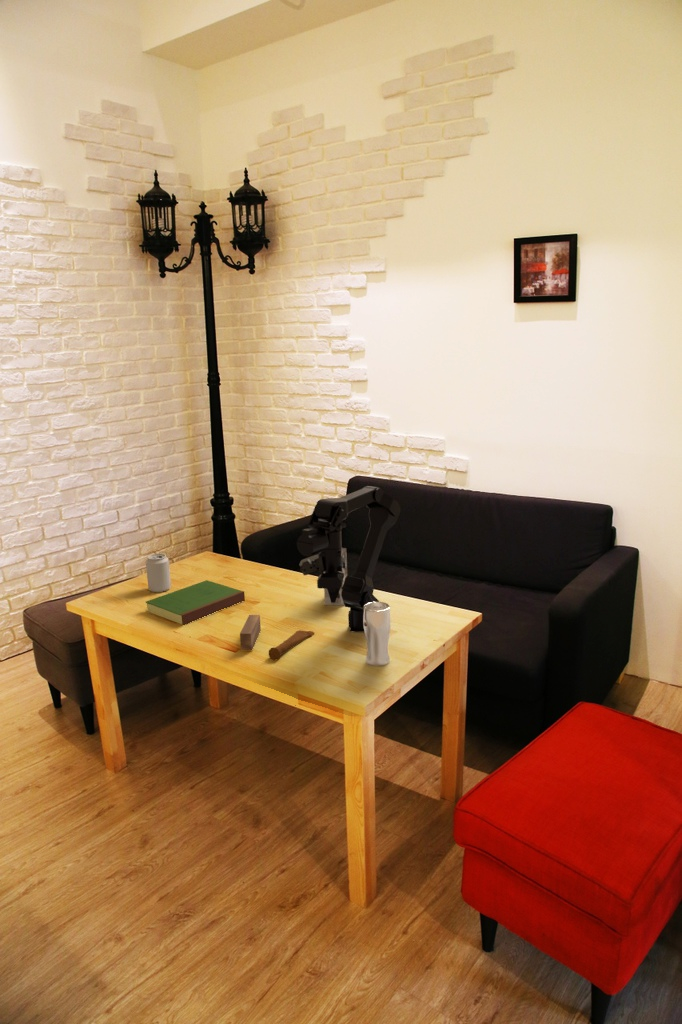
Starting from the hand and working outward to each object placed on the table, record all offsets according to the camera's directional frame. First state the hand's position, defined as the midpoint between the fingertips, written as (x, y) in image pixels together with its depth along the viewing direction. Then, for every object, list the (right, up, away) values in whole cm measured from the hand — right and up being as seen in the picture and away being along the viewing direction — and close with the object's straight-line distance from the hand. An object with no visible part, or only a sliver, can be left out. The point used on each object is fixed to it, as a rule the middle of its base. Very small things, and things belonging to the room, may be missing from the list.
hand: (333, 601), depth 191 cm
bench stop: (-23, -12, +6) cm, 26 cm away
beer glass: (+12, -14, -9) cm, 20 cm away
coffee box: (+1, -4, +34) cm, 34 cm away
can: (-59, -2, +49) cm, 77 cm away
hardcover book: (-43, -6, +34) cm, 55 cm away
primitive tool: (-12, -13, +3) cm, 17 cm away
